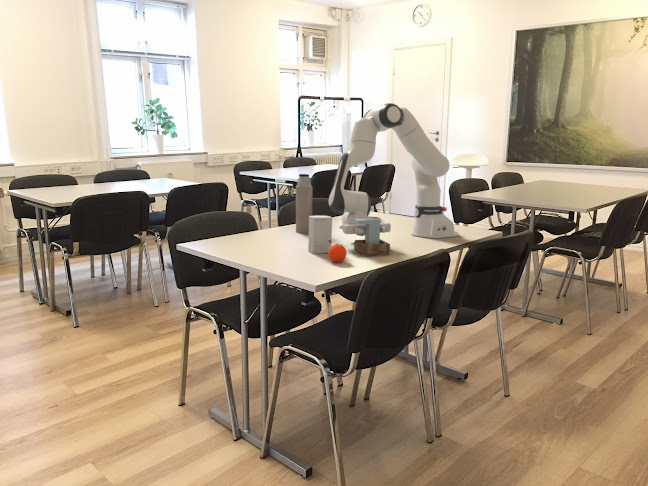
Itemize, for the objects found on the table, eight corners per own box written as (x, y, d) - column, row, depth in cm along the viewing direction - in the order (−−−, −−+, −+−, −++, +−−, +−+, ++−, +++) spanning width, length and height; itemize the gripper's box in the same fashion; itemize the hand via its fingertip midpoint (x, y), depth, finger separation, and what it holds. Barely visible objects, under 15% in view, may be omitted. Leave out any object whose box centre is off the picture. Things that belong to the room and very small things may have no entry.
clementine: (347, 259, 208) (347, 241, 206) (350, 264, 201) (350, 245, 200) (327, 260, 207) (327, 241, 206) (329, 264, 200) (329, 245, 199)
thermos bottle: (313, 230, 266) (314, 173, 260) (310, 233, 258) (310, 175, 252) (298, 229, 268) (298, 173, 262) (294, 232, 260) (293, 174, 254)
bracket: (374, 248, 222) (375, 217, 219) (379, 251, 218) (380, 219, 215) (353, 250, 219) (354, 218, 217) (357, 252, 215) (357, 220, 213)
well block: (379, 249, 226) (379, 238, 225) (389, 255, 216) (390, 244, 215) (354, 250, 223) (354, 240, 222) (364, 256, 213) (364, 245, 212)
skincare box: (313, 254, 216) (313, 217, 213) (307, 251, 222) (307, 215, 218) (332, 252, 219) (332, 216, 216) (326, 249, 225) (326, 214, 222)
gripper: (338, 218, 226) (349, 224, 213) (382, 217, 232) (396, 222, 219) (337, 233, 227) (348, 240, 215) (382, 231, 233) (395, 237, 220)
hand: (373, 231), depth 217 cm, fingers open, 8 cm apart
